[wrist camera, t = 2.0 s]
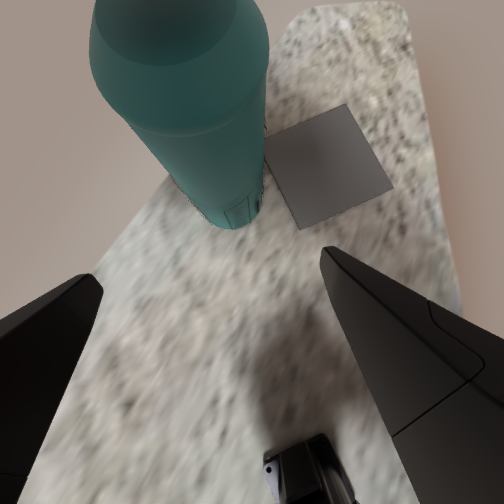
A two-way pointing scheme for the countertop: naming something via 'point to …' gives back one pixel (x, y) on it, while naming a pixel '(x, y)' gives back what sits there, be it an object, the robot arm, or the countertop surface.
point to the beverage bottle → (191, 93)
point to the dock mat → (324, 166)
